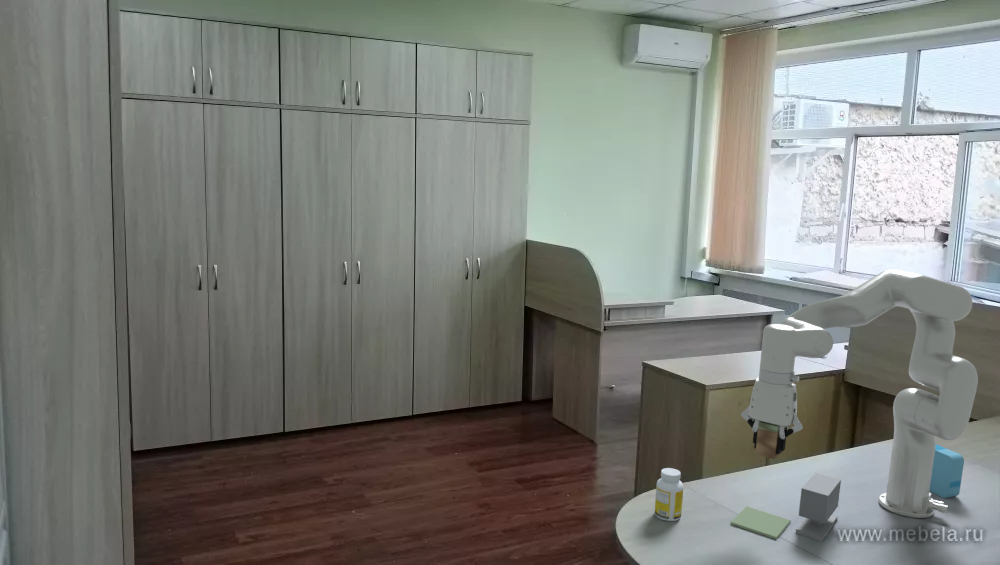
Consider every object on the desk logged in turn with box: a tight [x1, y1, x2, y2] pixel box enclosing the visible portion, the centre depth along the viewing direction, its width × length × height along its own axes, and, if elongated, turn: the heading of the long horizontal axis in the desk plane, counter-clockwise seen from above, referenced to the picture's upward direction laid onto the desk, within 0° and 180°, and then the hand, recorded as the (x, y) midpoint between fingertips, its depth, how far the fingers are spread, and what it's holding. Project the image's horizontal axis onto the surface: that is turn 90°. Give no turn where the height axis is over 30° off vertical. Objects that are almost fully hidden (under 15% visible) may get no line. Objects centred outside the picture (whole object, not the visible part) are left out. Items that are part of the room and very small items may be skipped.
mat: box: [730, 506, 792, 540], centre depth 180 cm, size 11×11×1 cm
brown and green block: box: [754, 421, 779, 460], centre depth 176 cm, size 4×4×8 cm
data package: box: [929, 443, 965, 499], centre depth 202 cm, size 12×4×12 cm, turn 20°
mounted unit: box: [795, 472, 842, 542], centre depth 179 cm, size 6×14×11 cm, turn 142°
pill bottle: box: [654, 467, 684, 522], centre depth 181 cm, size 6×6×12 cm
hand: (768, 449), depth 177 cm, fingers closed on brown and green block, 4 cm apart
